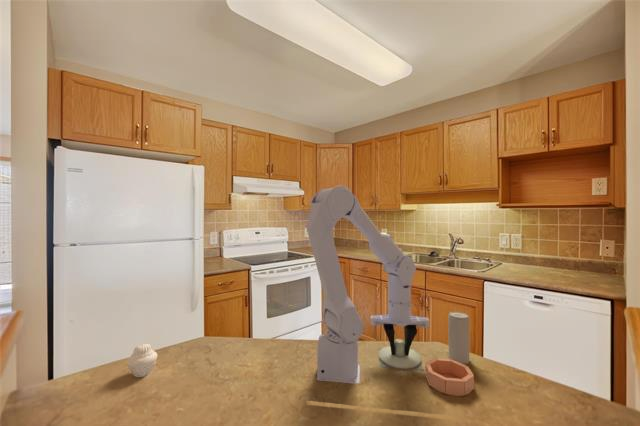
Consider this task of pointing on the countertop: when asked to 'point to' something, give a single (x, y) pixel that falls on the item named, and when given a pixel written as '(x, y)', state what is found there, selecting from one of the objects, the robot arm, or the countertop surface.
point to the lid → (399, 356)
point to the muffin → (142, 360)
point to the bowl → (449, 377)
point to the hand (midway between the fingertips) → (399, 353)
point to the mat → (393, 367)
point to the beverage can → (458, 337)
